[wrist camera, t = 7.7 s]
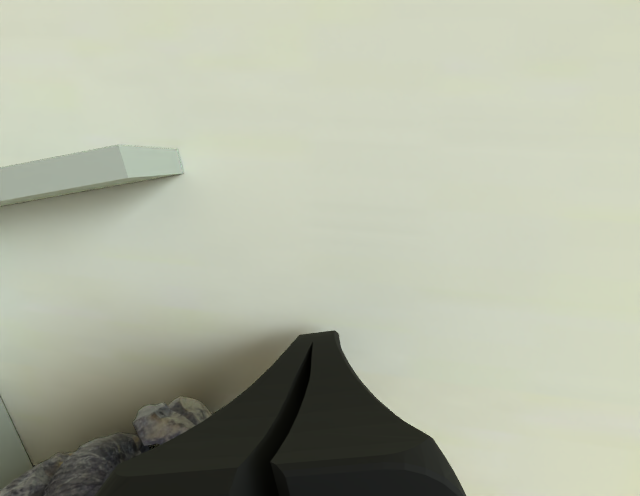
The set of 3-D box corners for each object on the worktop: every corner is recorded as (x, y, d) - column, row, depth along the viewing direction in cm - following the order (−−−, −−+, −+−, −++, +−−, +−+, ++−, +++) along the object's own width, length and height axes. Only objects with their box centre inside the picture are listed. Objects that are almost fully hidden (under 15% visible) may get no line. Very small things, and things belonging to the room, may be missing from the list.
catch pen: (270, 504, 15) (252, 589, 12) (41, 519, 16) (-26, 600, 13) (177, 148, 11) (118, 144, 8) (-111, 202, 12) (-252, 216, 9)
